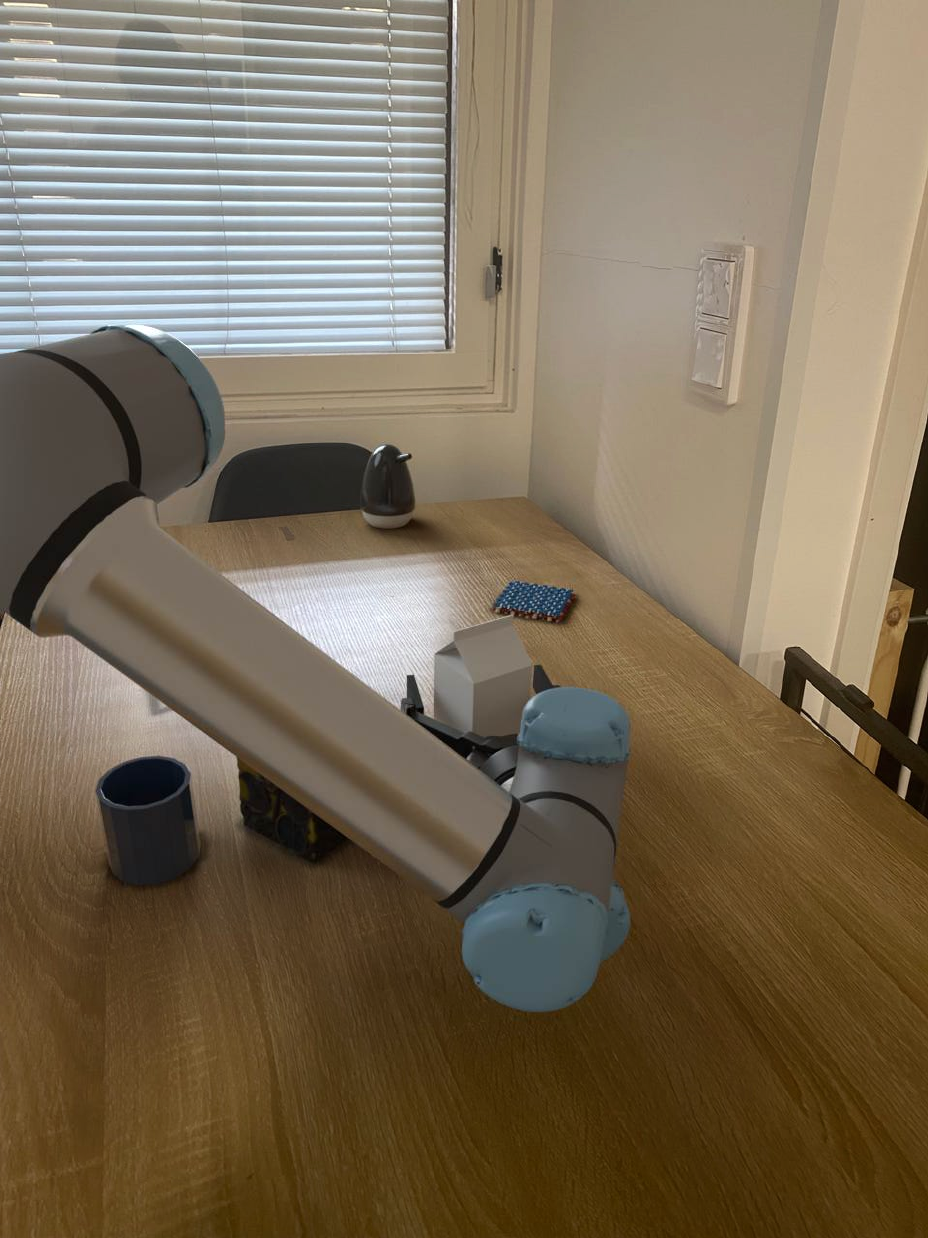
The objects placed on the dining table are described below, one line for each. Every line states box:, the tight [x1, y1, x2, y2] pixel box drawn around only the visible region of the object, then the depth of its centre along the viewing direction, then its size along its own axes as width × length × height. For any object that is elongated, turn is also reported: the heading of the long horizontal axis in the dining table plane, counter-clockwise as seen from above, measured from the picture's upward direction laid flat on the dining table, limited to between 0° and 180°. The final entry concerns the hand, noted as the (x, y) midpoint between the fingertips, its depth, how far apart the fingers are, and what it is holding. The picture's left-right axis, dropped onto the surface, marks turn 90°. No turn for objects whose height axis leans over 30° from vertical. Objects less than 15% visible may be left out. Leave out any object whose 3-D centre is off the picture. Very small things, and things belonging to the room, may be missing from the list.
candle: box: [235, 756, 350, 865], centre depth 88 cm, size 10×10×10 cm
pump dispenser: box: [359, 443, 417, 530], centre depth 165 cm, size 10×10×15 cm
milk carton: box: [433, 614, 534, 749], centre depth 93 cm, size 7×7×19 cm
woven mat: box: [492, 580, 576, 623], centre depth 137 cm, size 10×11×2 cm
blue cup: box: [94, 755, 201, 887], centre depth 83 cm, size 8×8×9 cm
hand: (474, 680), depth 95 cm, fingers open, 13 cm apart
